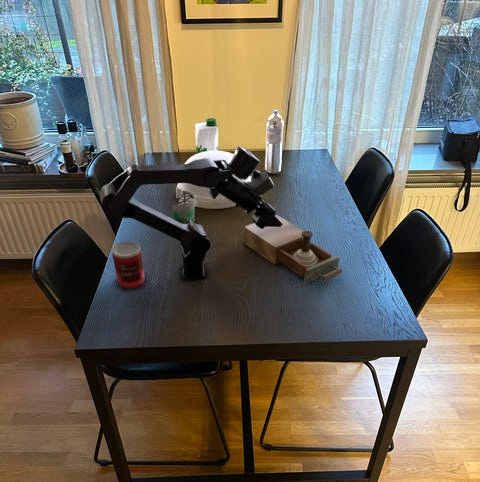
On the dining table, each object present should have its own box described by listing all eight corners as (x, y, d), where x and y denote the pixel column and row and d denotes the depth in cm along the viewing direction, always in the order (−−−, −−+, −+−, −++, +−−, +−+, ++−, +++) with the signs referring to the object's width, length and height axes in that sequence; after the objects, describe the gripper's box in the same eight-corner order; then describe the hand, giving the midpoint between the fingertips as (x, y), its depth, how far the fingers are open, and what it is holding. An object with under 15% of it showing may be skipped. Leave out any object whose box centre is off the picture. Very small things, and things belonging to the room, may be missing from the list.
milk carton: (220, 170, 194) (219, 122, 182) (200, 172, 192) (197, 124, 180) (215, 162, 201) (214, 116, 188) (195, 165, 199) (192, 117, 186)
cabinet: (307, 250, 144) (309, 234, 140) (274, 264, 138) (275, 247, 134) (276, 231, 154) (277, 214, 150) (243, 243, 148) (244, 226, 144)
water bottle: (261, 170, 195) (264, 109, 179) (275, 167, 197) (279, 107, 181) (269, 176, 190) (272, 114, 174) (283, 173, 192) (287, 112, 176)
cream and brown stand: (320, 266, 133) (324, 239, 128) (294, 268, 133) (297, 241, 127) (313, 252, 140) (316, 225, 134) (288, 254, 139) (290, 227, 133)
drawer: (347, 275, 132) (349, 263, 129) (316, 290, 126) (318, 277, 124) (304, 248, 144) (305, 236, 141) (274, 260, 138) (275, 248, 135)
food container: (192, 234, 151) (190, 207, 145) (174, 233, 152) (171, 205, 146) (201, 217, 161) (200, 191, 154) (185, 216, 161) (183, 189, 155)
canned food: (132, 270, 135) (127, 238, 128) (150, 280, 131) (146, 247, 124) (112, 281, 130) (105, 249, 123) (130, 292, 126) (124, 259, 120)
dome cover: (187, 214, 163) (184, 177, 154) (166, 182, 184) (162, 148, 175) (268, 200, 172) (270, 164, 163) (239, 171, 194) (239, 138, 185)
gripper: (266, 180, 113) (307, 210, 122) (243, 154, 127) (281, 182, 136) (239, 216, 117) (280, 241, 126) (219, 186, 130) (258, 212, 140)
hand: (275, 217), depth 132 cm, fingers open, 9 cm apart
